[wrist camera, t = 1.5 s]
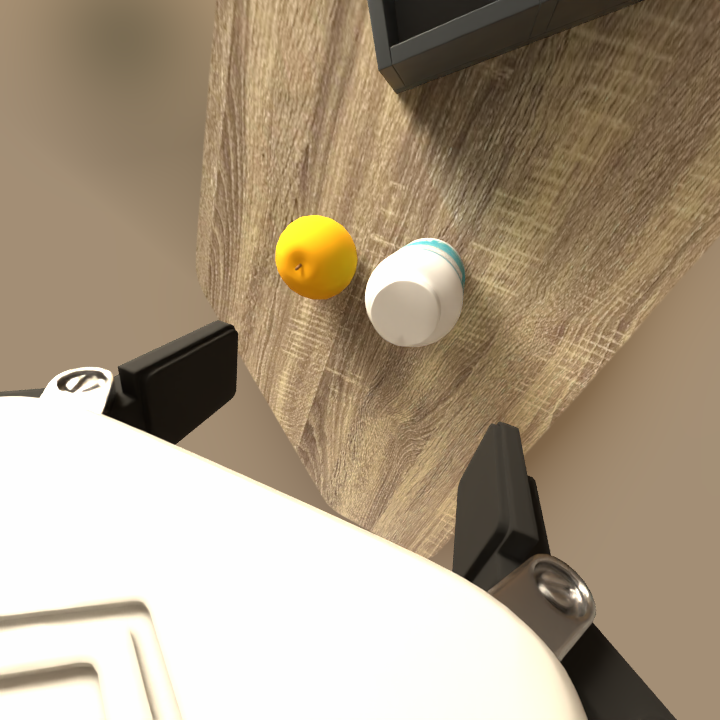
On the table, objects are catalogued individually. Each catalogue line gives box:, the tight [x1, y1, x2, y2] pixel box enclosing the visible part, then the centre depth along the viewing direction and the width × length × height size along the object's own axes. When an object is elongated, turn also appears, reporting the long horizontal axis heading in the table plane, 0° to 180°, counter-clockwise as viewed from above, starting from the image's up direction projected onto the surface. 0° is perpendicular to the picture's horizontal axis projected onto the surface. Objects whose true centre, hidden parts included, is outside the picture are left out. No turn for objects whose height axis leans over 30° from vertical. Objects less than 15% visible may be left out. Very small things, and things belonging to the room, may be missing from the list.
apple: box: [275, 215, 358, 299], centre depth 32 cm, size 8×8×8 cm
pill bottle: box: [365, 238, 465, 347], centre depth 28 cm, size 8×7×14 cm
